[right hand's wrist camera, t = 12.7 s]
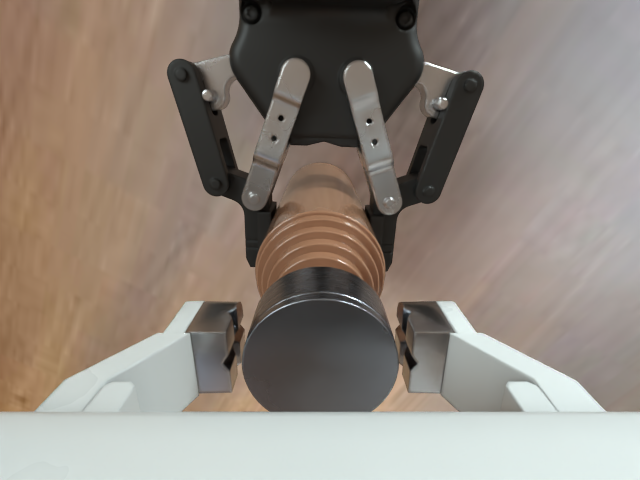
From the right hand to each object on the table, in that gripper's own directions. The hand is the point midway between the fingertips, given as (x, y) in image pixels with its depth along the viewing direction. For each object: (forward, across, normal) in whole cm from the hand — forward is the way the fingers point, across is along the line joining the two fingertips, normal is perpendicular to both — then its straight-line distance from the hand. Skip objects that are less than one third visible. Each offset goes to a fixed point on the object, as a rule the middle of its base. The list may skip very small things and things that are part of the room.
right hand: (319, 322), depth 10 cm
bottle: (+16, 0, 0) cm, 16 cm away
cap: (-2, 0, 0) cm, 2 cm away
